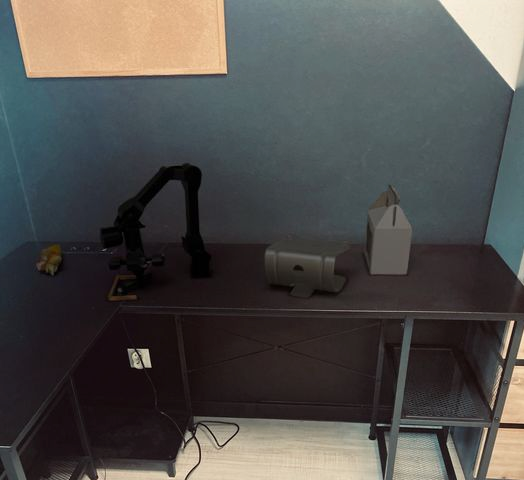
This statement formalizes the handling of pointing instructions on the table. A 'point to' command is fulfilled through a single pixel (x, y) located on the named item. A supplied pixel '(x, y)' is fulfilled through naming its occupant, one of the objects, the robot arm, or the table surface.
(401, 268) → the gable box
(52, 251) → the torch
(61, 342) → the table surface
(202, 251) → the robot arm
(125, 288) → the electric trimmer
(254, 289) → the table surface
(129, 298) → the dock
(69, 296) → the table surface
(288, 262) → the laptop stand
